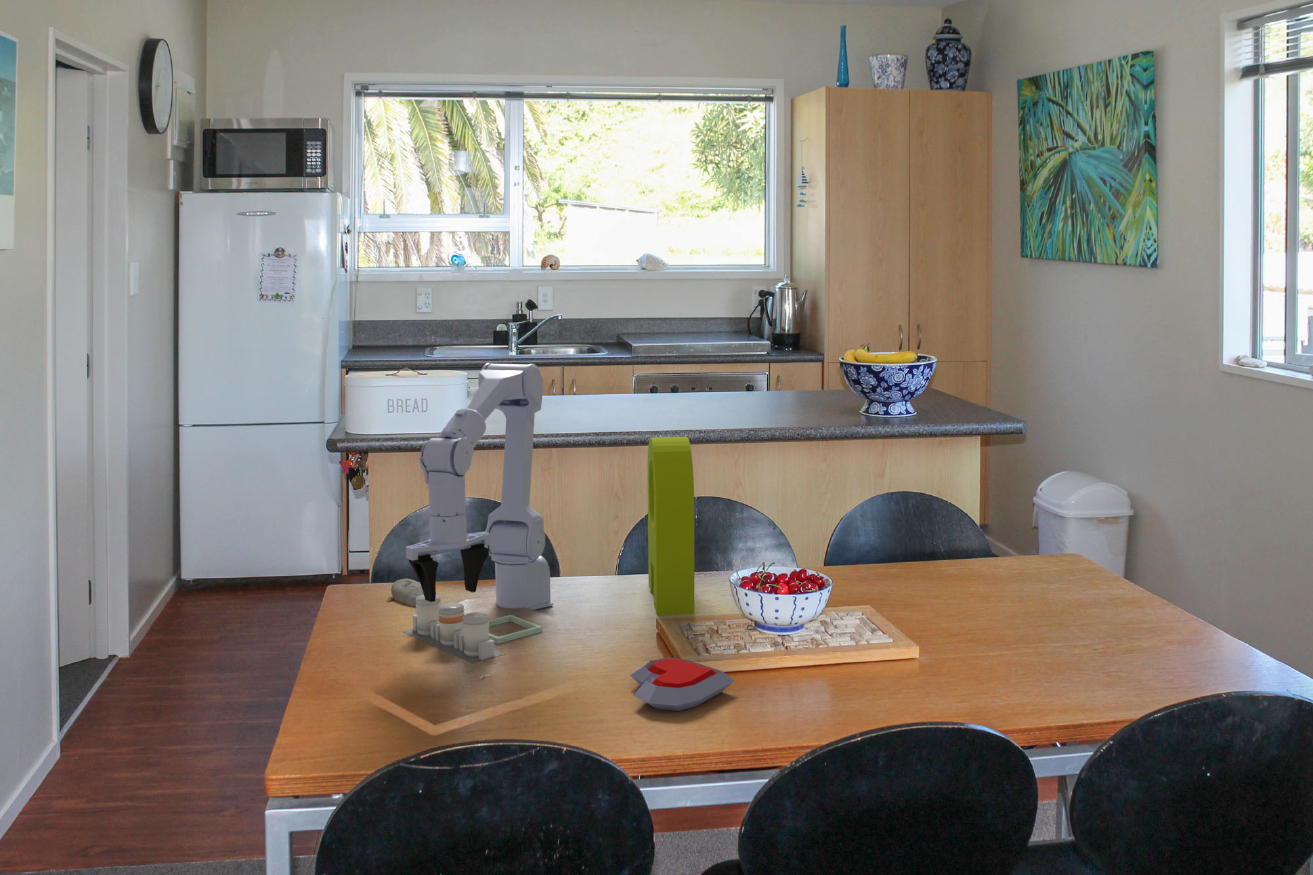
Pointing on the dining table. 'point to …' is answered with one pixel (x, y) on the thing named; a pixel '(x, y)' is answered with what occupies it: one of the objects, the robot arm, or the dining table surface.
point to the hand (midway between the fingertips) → (450, 595)
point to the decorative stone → (406, 591)
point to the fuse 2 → (474, 632)
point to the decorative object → (671, 525)
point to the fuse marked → (450, 622)
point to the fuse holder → (455, 643)
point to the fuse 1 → (426, 614)
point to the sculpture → (678, 683)
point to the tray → (532, 630)
